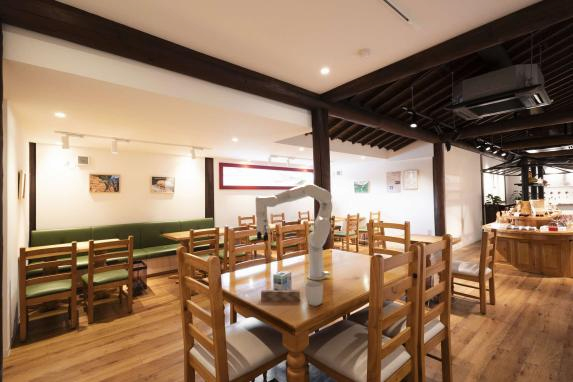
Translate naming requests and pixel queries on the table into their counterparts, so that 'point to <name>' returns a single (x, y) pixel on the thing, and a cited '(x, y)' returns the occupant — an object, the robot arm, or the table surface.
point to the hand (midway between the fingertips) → (262, 240)
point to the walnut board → (280, 295)
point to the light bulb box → (282, 280)
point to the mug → (314, 293)
